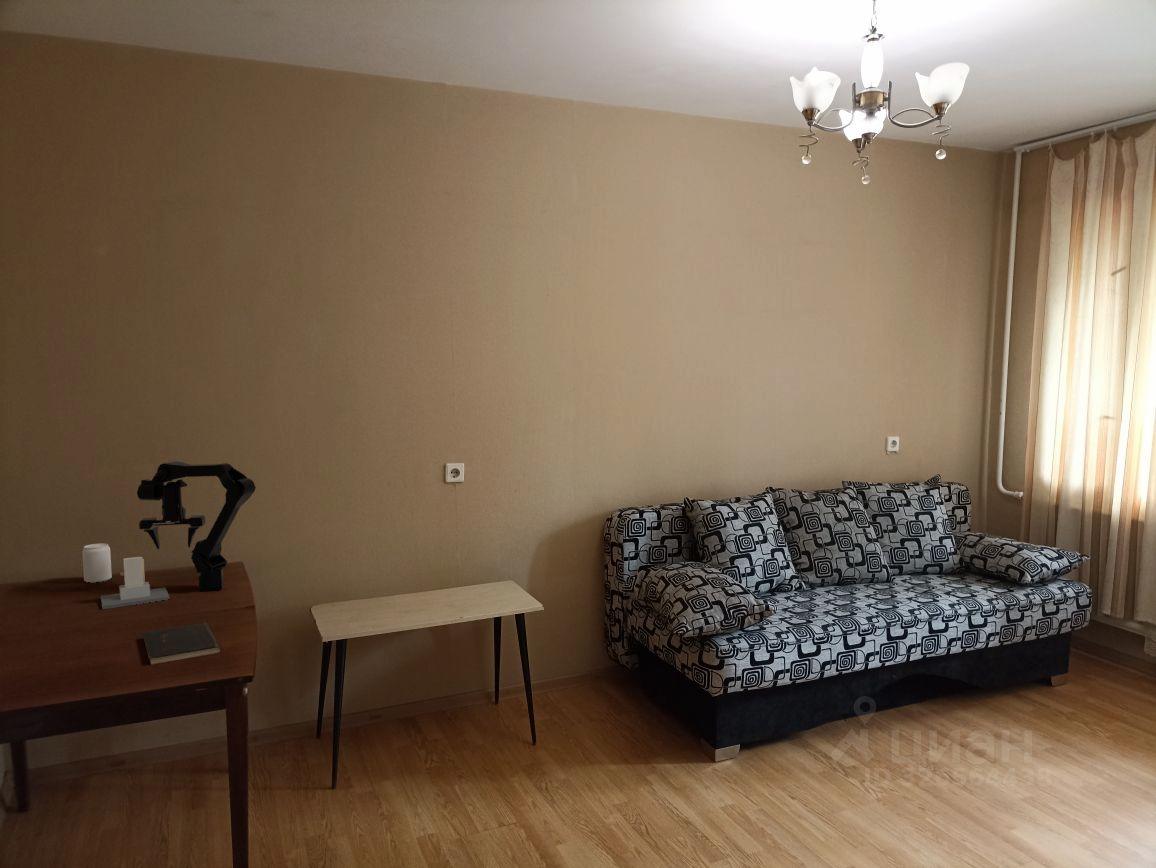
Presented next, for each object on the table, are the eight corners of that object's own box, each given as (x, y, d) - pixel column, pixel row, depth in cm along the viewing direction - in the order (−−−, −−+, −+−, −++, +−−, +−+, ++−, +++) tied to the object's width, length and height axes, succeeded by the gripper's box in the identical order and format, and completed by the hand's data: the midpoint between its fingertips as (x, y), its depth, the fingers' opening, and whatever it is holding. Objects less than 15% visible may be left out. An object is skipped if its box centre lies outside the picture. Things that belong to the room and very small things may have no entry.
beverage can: (116, 579, 278) (114, 544, 277) (92, 584, 271) (90, 549, 270) (103, 576, 282) (101, 542, 281) (79, 581, 275) (77, 546, 274)
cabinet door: (145, 594, 255) (143, 556, 254) (145, 595, 253) (143, 557, 252) (121, 597, 252) (119, 559, 251) (121, 598, 250) (119, 560, 249)
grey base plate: (165, 590, 263) (164, 576, 263) (169, 599, 252) (169, 585, 252) (100, 599, 254) (99, 584, 253) (102, 609, 243) (101, 594, 242)
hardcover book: (149, 667, 196) (149, 657, 196) (142, 640, 216) (142, 632, 215) (221, 654, 205) (220, 645, 204) (208, 630, 224) (208, 622, 224)
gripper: (207, 495, 274) (209, 541, 276) (147, 498, 270) (149, 544, 271) (201, 501, 264) (203, 548, 265) (137, 503, 259) (139, 552, 260)
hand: (174, 548), depth 266 cm, fingers open, 9 cm apart
